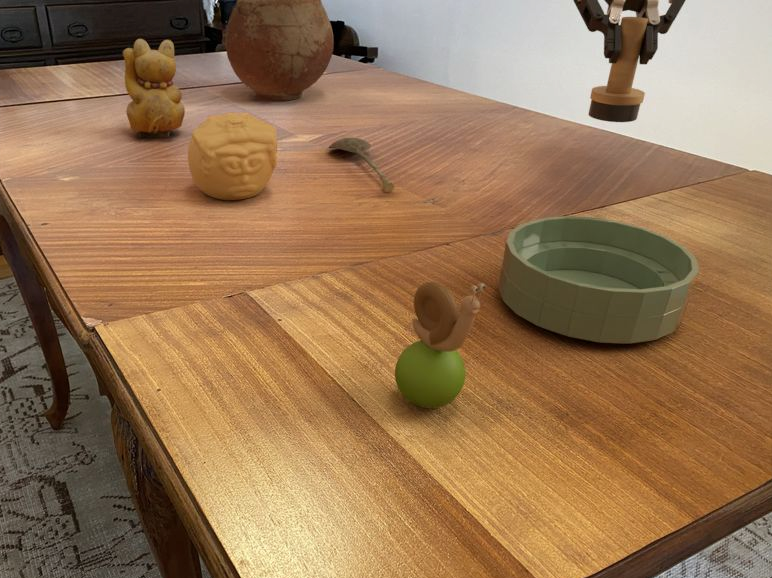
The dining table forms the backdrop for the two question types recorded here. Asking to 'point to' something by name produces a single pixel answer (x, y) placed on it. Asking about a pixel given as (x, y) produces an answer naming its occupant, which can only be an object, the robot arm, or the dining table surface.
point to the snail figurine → (436, 346)
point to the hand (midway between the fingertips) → (630, 59)
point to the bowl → (597, 279)
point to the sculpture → (232, 155)
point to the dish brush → (621, 78)
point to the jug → (279, 45)
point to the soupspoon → (358, 148)
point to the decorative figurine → (152, 90)
